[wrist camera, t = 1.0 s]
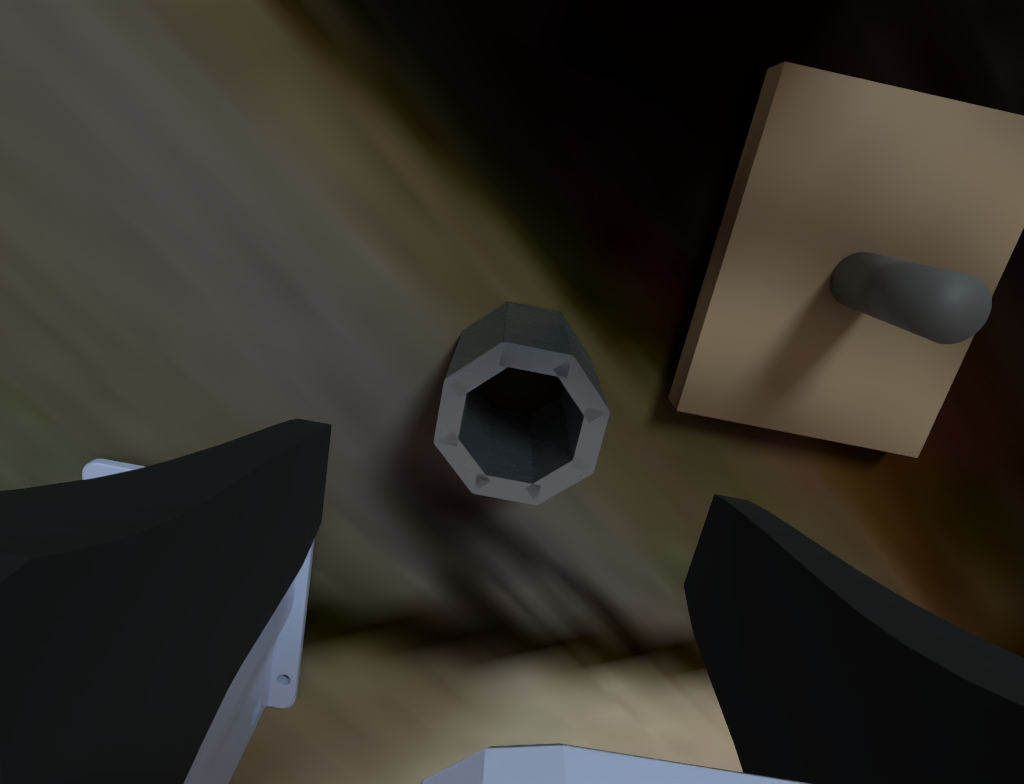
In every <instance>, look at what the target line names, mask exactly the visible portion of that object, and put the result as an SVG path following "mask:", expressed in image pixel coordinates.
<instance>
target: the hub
mask: <svg viewBox="0 0 1024 784" xmlns="http://www.w3.org/2000/svg"><path fill="white" fill-rule="evenodd" d="M507 367H511V368H516V369H521V370H526V371H531V372H537V373H542V374H547V375H552V376H557V377H558V378H559V379H560V381H561V382H562V384H563V385H564V386H563V390H562V394H561V396H559V397H557V398H556V399H554V400H552V401H551V402H549V403H548V404H546V405H544V406H543V407H541V408H539V409H538V410H536V411H534V412H533V413H531V414H526V413H521V412H516V411H511V410H506V409H500V408H495V407H493V405H492V404H491V403H490V401H489V400H488V398H487V397H486V396H485V394H484V393H483V392H482V390H481V389H480V387H479V385H480V384H482V383H484V382H485V381H487V380H488V379H490V378H492V377H493V376H495V375H496V374H498V373H499V372H501V371H503V370H504V369H506V368H507ZM609 414H610V410H609V408H608V405H607V402H606V400H605V397H604V394H603V391H602V389H601V386H600V383H599V381H598V378H597V375H596V373H595V370H594V367H593V365H592V362H591V359H590V357H589V355H588V353H587V352H586V350H585V349H584V347H583V346H582V344H581V342H580V341H579V339H578V338H577V336H576V335H575V333H574V332H573V330H572V329H571V327H570V325H569V324H568V322H567V321H566V319H565V318H564V316H563V315H562V313H560V312H557V311H552V310H547V309H542V308H537V307H532V306H527V305H522V304H517V303H512V302H508V303H507V302H506V303H504V304H503V305H501V306H500V307H498V308H497V309H495V310H494V311H492V312H491V313H489V314H488V315H486V316H485V317H483V318H482V319H480V320H479V321H477V322H476V323H474V324H472V325H471V326H469V327H468V328H466V329H465V330H463V332H462V334H461V337H460V339H459V342H458V345H457V347H456V350H455V353H454V355H453V358H452V361H451V363H450V366H449V369H448V371H447V374H446V377H445V379H444V384H443V390H442V396H441V402H440V407H439V413H438V419H437V425H436V430H435V436H434V444H435V446H436V447H437V448H438V450H439V451H440V452H441V453H442V455H443V456H444V457H445V459H446V460H447V461H448V463H449V464H450V465H451V466H452V468H453V469H454V470H455V472H456V473H457V474H458V476H459V477H460V478H461V480H462V481H463V482H464V483H465V485H466V486H467V487H468V489H469V490H470V491H471V493H473V494H477V495H483V496H488V497H494V498H499V499H504V500H510V501H515V502H521V503H526V504H532V505H536V504H537V505H539V504H541V503H542V502H544V501H546V500H547V499H549V498H551V497H553V496H554V495H556V494H558V493H560V492H561V491H563V490H565V489H567V488H568V487H570V486H572V485H574V484H575V483H577V482H579V481H580V480H582V479H584V478H586V477H587V476H589V475H591V474H593V472H594V469H595V466H596V462H597V458H598V454H599V451H600V447H601V443H602V440H603V436H604V432H605V429H606V425H607V421H608V418H609Z"/></svg>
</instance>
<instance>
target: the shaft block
mask: <svg viewBox="0 0 1024 784" xmlns="http://www.w3.org/2000/svg"><path fill="white" fill-rule="evenodd" d="M1023 228H1024V116H1022V115H1018V114H1013V113H1009V112H1005V111H1000V110H996V109H992V108H987V107H983V106H978V105H974V104H970V103H965V102H961V101H956V100H952V99H948V98H943V97H939V96H934V95H930V94H926V93H921V92H917V91H912V90H908V89H904V88H899V87H895V86H890V85H886V84H882V83H877V82H873V81H868V80H864V79H860V78H855V77H851V76H846V75H842V74H838V73H833V72H829V71H824V70H820V69H816V68H811V67H807V66H802V65H798V64H794V63H789V62H782V63H780V64H778V65H775V66H773V67H771V68H768V70H767V73H766V76H765V79H764V83H763V86H762V89H761V93H760V96H759V99H758V103H757V106H756V109H755V113H754V116H753V119H752V122H751V126H750V129H749V132H748V136H747V139H746V142H745V146H744V149H743V152H742V156H741V159H740V162H739V165H738V169H737V172H736V175H735V179H734V182H733V185H732V189H731V192H730V195H729V199H728V202H727V205H726V208H725V212H724V215H723V218H722V222H721V225H720V228H719V232H718V235H717V238H716V242H715V245H714V248H713V251H712V255H711V258H710V261H709V265H708V268H707V271H706V275H705V278H704V281H703V285H702V288H701V291H700V294H699V298H698V301H697V304H696V308H695V311H694V314H693V318H692V321H691V324H690V328H689V331H688V334H687V337H686V341H685V344H684V347H683V351H682V354H681V357H680V361H679V364H678V367H677V371H676V374H675V377H674V380H673V384H672V387H671V390H670V394H669V397H668V398H669V400H670V401H671V403H672V404H673V406H674V407H675V409H676V410H677V411H680V412H685V413H691V414H696V415H701V416H706V417H711V418H716V419H721V420H726V421H732V422H737V423H742V424H747V425H752V426H757V427H762V428H767V429H773V430H778V431H783V432H788V433H793V434H798V435H803V436H808V437H814V438H819V439H824V440H829V441H834V442H839V443H844V444H849V445H854V446H860V447H865V448H870V449H875V450H880V451H885V452H890V453H895V454H901V455H906V456H911V457H916V458H918V456H919V454H920V452H921V450H922V447H923V445H924V443H925V441H926V439H927V437H928V434H929V432H930V430H931V428H932V426H933V423H934V421H935V419H936V417H937V415H938V413H939V410H940V408H941V406H942V404H943V402H944V400H945V397H946V395H947V393H948V391H949V389H950V386H951V384H952V382H953V380H954V378H955V376H956V373H957V371H958V369H959V367H960V365H961V363H962V360H963V358H964V356H965V354H966V352H967V350H968V347H969V345H970V343H971V341H972V339H973V336H974V334H975V333H977V332H978V331H979V330H980V329H981V327H982V326H983V325H984V324H985V322H986V320H987V319H988V316H989V314H990V311H991V306H992V298H991V297H992V295H993V293H994V291H995V289H996V286H997V284H998V282H999V280H1000V278H1001V276H1002V273H1003V271H1004V269H1005V267H1006V265H1007V263H1008V260H1009V258H1010V256H1011V254H1012V252H1013V250H1014V247H1015V245H1016V243H1017V241H1018V239H1019V236H1020V234H1021V232H1022V230H1023Z"/></svg>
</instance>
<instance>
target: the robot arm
mask: <svg viewBox="0 0 1024 784" xmlns="http://www.w3.org/2000/svg"><path fill="white" fill-rule="evenodd" d="M330 435H331V425H330V424H325V423H319V422H314V421H308V420H303V419H294V420H290V421H286V422H283V423H280V424H277V425H274V426H271V427H268V428H265V429H263V430H260V431H257V432H254V433H252V434H249V435H246V436H243V437H240V438H238V439H235V440H232V441H229V442H226V443H224V444H221V445H218V446H215V447H212V448H208V449H205V450H202V451H199V452H196V453H192V454H189V455H186V456H183V457H180V458H176V459H173V460H170V461H167V462H163V463H159V464H155V465H151V466H147V467H144V466H139V465H133V464H128V463H123V462H117V461H112V460H106V459H95V460H92V461H91V462H89V463H88V464H86V465H85V467H84V468H83V471H82V480H79V481H72V482H65V483H58V484H51V485H45V486H38V487H31V488H24V489H16V490H6V491H0V784H229V782H230V780H231V778H232V776H233V774H234V772H235V770H236V768H237V765H238V763H239V761H240V759H241V757H242V755H243V753H244V751H245V749H246V747H247V745H248V743H249V740H250V738H251V736H252V734H253V732H254V730H255V728H256V726H257V724H258V722H259V720H260V718H261V715H262V713H263V711H264V709H265V707H266V706H270V707H276V708H289V707H291V706H292V705H293V704H294V702H295V700H296V697H297V694H298V685H299V676H300V667H301V658H302V649H303V640H304V631H305V621H306V612H307V603H308V594H309V585H310V576H311V567H312V558H313V549H314V540H315V536H316V534H317V531H318V529H319V526H320V524H321V521H322V511H323V501H324V492H325V482H326V473H327V463H328V454H329V444H330ZM684 589H685V594H686V600H687V605H688V611H689V615H690V620H691V624H692V629H693V633H694V636H695V639H696V642H697V644H698V647H699V650H700V653H701V656H702V658H703V661H704V664H705V667H706V669H707V672H708V675H709V678H710V680H711V683H712V686H713V688H714V691H715V694H716V696H717V699H718V702H719V704H720V707H721V710H722V713H723V715H724V718H725V721H726V723H727V726H728V729H729V731H730V734H731V737H732V739H733V742H734V745H735V748H736V751H737V754H738V757H739V760H740V763H741V766H742V770H743V773H742V772H735V771H729V770H723V769H717V768H710V767H704V766H698V765H691V764H685V763H679V762H672V761H666V760H660V759H653V758H647V757H641V756H635V755H628V754H622V753H616V752H609V751H603V750H597V749H590V748H584V747H578V746H572V745H565V744H535V745H511V746H491V747H488V748H485V749H483V750H481V751H479V752H477V753H475V754H473V755H471V756H469V757H467V758H465V759H463V760H461V761H459V762H458V763H456V764H454V765H452V766H450V767H448V768H446V769H444V770H442V771H440V772H438V773H436V774H434V775H432V776H430V777H428V778H426V779H424V780H422V782H421V784H1024V658H1022V657H1020V656H1018V655H1016V654H1013V653H1011V652H1009V651H1007V650H1005V649H1002V648H1000V647H998V646H996V645H994V644H991V643H989V642H987V641H985V640H983V639H981V638H979V637H977V636H975V635H973V634H971V633H969V632H966V631H964V630H962V629H960V628H958V627H957V626H955V625H953V624H951V623H949V622H947V621H945V620H943V619H941V618H940V617H938V616H936V615H934V614H932V613H930V612H928V611H926V610H925V609H923V608H921V607H919V606H917V605H915V604H913V603H912V602H910V601H908V600H906V599H905V598H903V597H901V596H899V595H898V594H896V593H894V592H893V591H891V590H889V589H888V588H886V587H884V586H883V585H881V584H879V583H878V582H876V581H875V580H873V579H871V578H870V577H868V576H866V575H865V574H863V573H861V572H860V571H858V570H857V569H855V568H854V567H852V566H851V565H849V564H847V563H846V562H844V561H843V560H841V559H840V558H838V557H837V556H835V555H834V554H832V553H831V552H829V551H828V550H826V549H825V548H823V547H822V546H820V545H819V544H817V543H816V542H814V541H813V540H811V539H810V538H808V537H807V536H805V535H804V534H802V533H801V532H799V531H798V530H796V529H795V528H793V527H792V526H790V525H789V524H787V523H786V522H784V521H783V520H781V519H779V518H778V517H776V516H775V515H773V514H771V513H770V512H768V511H767V510H765V509H763V508H761V507H760V506H758V505H756V504H754V503H752V502H749V501H747V500H743V499H738V498H732V497H727V496H721V495H716V494H714V497H713V500H712V503H711V506H710V509H709V512H708V515H707V518H706V521H705V524H704V527H703V529H702V532H701V535H700V538H699V541H698V544H697V547H696V550H695V553H694V556H693V559H692V562H691V565H690V568H689V571H688V574H687V577H686V580H685V583H684ZM283 675H287V676H288V677H284V676H283Z"/></svg>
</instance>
